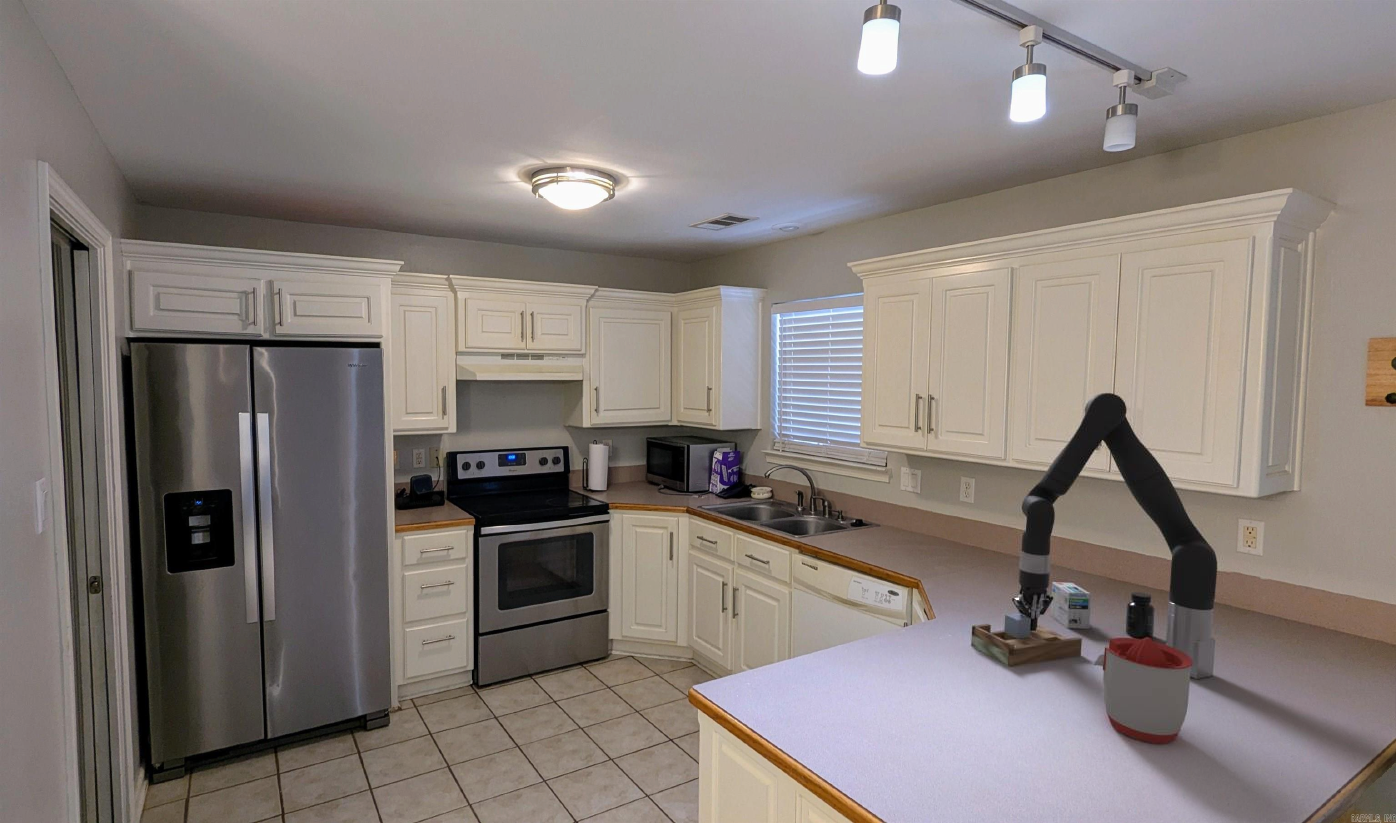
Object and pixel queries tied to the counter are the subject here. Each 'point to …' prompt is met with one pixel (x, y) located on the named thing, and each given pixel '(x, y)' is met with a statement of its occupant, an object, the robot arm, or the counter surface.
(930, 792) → the counter surface
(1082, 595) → the light bulb box
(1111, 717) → the citrus juicer
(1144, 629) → the supplement bottle
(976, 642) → the board
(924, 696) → the counter surface
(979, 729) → the counter surface
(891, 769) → the counter surface
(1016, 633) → the block
